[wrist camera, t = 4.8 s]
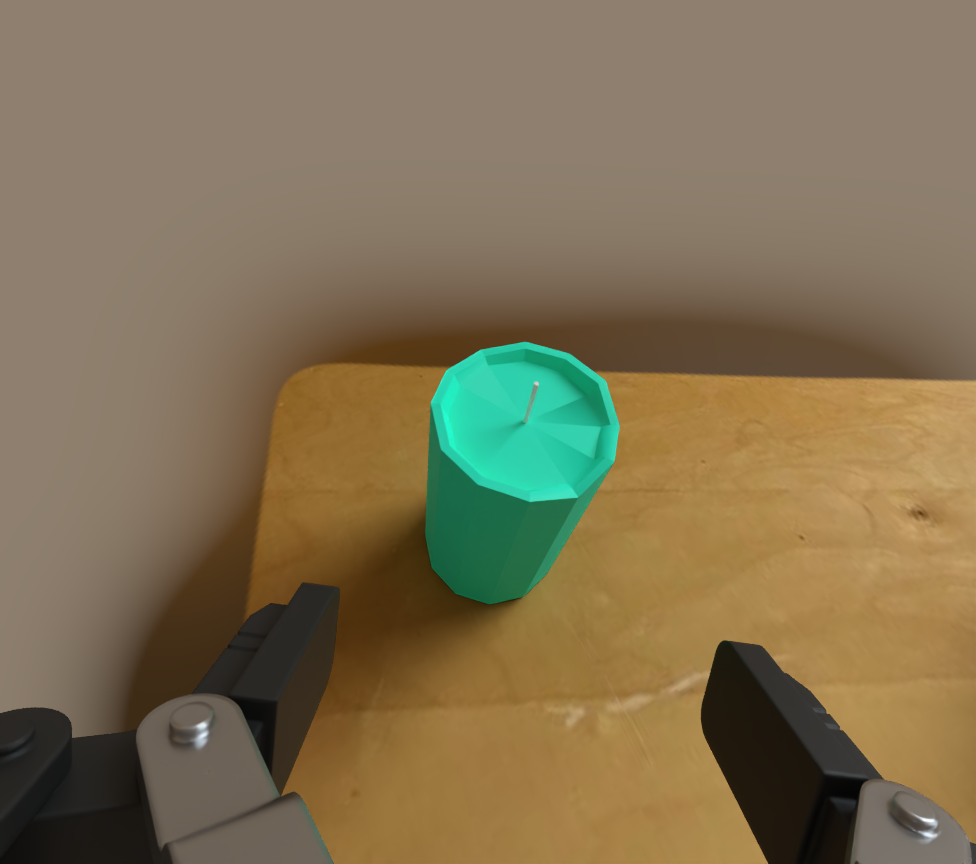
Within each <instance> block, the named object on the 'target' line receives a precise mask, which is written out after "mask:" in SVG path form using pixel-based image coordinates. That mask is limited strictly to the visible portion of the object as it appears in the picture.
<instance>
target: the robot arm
mask: <svg viewBox="0 0 976 864" xmlns="http://www.w3.org/2000/svg"><path fill="white" fill-rule="evenodd" d="M339 600H340V589H339V587H335V586H327V585H320V584H313V583H305V582H303V583H302V584H301V585H300V587H299V588H298V590H297V591H296V593H295V594H294V596H293V597H292V599H291V600H290V602H289V603H288V605H281V604H274V603H270V604H269V605H267V606H265V607H264V608H262V609H260V610H259V611H257V612H255V613H254V614H252V615H250V617H249V618H248V619H247V621H246V622H245V623H244V625H243V626H242V627H241V628H240V630H239V631H238V634H237V635H235V637H234V638H233V639H232V641H231V642H230V643H229V645H228V648H227V649H225V650H224V651H223V652H222V654H221V655H220V656H219V658H218V659H217V660H216V662H215V663H214V664H213V666H212V667H211V668H210V670H209V671H208V672H207V674H206V675H205V677H204V678H203V679H202V680H201V682H200V683H199V684H198V686H197V687H196V688H195V690H194V691H193V692H192V694H191V695H186V696H182V697H179V698H176V699H173V700H170V701H168V702H166V703H164V704H162V705H160V706H159V707H157V708H156V709H154V710H153V711H152V712H150V713H149V714H148V715H147V716H146V717H145V718H144V720H143V721H142V722H141V723H140V725H139V727H138V729H136V730H132V731H128V732H122V733H113V734H104V735H95V736H86V737H78V738H72V727H71V722H70V720H69V718H68V717H67V716H65V714H63V713H61V712H59V711H56V710H53V709H48V708H23V709H17V710H12V711H8V712H3V713H0V864H334V862H333V860H332V858H331V856H330V854H329V852H328V850H327V848H326V846H325V844H324V842H323V840H322V838H321V836H320V834H319V832H318V829H317V827H316V825H315V823H314V821H313V819H312V817H311V815H310V813H309V811H308V809H307V807H306V805H305V803H304V801H303V799H302V798H301V797H300V795H299V794H297V793H296V792H291V793H289V794H286V795H284V796H281V795H282V792H283V790H284V787H285V785H286V783H287V780H288V778H289V775H290V773H291V771H292V768H293V766H294V763H295V761H296V759H297V756H298V754H299V751H300V749H301V747H302V744H303V742H304V739H305V737H306V734H307V732H308V730H309V727H310V725H311V722H312V720H313V718H314V715H315V713H316V710H317V708H318V706H319V703H320V701H321V698H322V696H323V694H324V691H325V689H326V686H327V683H328V680H329V676H330V672H331V668H332V663H333V657H334V648H335V639H336V629H337V619H338V610H339ZM701 724H702V729H703V733H704V736H705V739H706V741H707V743H708V745H709V747H710V749H711V751H712V753H713V755H714V757H715V759H716V761H717V763H718V765H719V767H720V769H721V770H722V772H723V774H724V776H725V778H726V780H727V782H728V784H729V786H730V788H731V790H732V792H733V794H734V796H735V798H736V800H737V802H738V804H739V806H740V808H741V810H742V812H743V814H744V816H745V818H746V820H747V822H748V824H749V826H750V828H751V830H752V832H753V834H754V836H755V838H756V840H757V842H758V844H759V846H760V848H761V850H762V852H763V854H764V856H765V858H766V860H767V862H768V864H976V844H974V843H971V842H969V839H968V837H967V835H966V833H965V832H964V830H963V829H962V827H961V826H960V825H959V824H958V823H957V821H956V820H955V819H954V818H953V817H952V816H951V815H950V814H949V813H947V812H946V811H945V810H944V809H943V808H941V807H940V806H939V805H937V804H936V803H935V802H933V801H932V800H930V799H929V798H927V797H925V796H924V795H922V794H920V793H919V792H917V791H915V790H913V789H911V788H908V787H906V786H904V785H901V784H898V783H895V782H892V781H888V780H884V779H883V778H882V776H881V775H880V774H879V773H878V772H877V770H876V769H875V768H874V767H873V766H872V764H871V763H870V762H869V761H868V760H867V759H866V757H865V756H864V755H863V754H862V753H861V751H860V750H859V749H858V748H857V747H856V745H855V744H854V743H853V742H852V741H851V739H850V738H849V737H848V736H847V735H846V733H845V732H844V731H842V730H840V726H839V725H838V724H837V723H836V721H835V720H834V719H833V718H832V717H831V715H830V714H827V713H826V709H825V708H824V707H823V706H822V705H821V703H820V702H819V701H818V700H817V699H816V697H815V696H814V695H813V694H812V693H811V691H809V690H808V689H807V688H805V687H804V686H803V685H801V684H800V683H799V682H798V681H796V680H795V679H794V678H792V677H791V676H790V675H788V674H787V673H784V672H783V671H782V670H781V669H780V667H779V666H778V665H777V664H776V662H775V661H774V660H773V659H772V657H771V656H770V655H769V654H768V652H767V651H766V650H765V649H764V648H763V647H762V646H760V645H755V644H748V643H741V642H733V641H726V640H725V641H722V642H721V643H720V644H719V645H718V647H717V650H716V653H715V657H714V661H713V664H712V668H711V672H710V676H709V679H708V683H707V687H706V691H705V695H704V698H703V702H702V708H701Z"/></svg>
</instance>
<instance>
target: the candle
mask: <svg viewBox="0 0 976 864" xmlns="http://www.w3.org/2000/svg"><path fill="white" fill-rule="evenodd" d="M619 426H620V425H619V422H618V419H617V415H616V412H615V409H614V406H613V403H612V399H611V396H610V393H609V390H608V387H607V383H606V380H604V379H603V378H602V377H600V376H599V375H598V374H596V373H595V372H593V371H592V370H591V369H589V368H588V367H587V366H585V365H584V364H583V363H581V362H580V361H579V360H577V359H576V358H575V357H573V356H572V355H571V354H568V353H565V352H561V351H557V350H554V349H550V348H546V347H543V346H539V345H535V344H531V343H528V342H522V343H516V344H511V345H505V346H500V347H494V348H488V349H483V350H480V351H478V352H476V353H475V354H473V355H471V356H470V357H468V358H466V359H465V360H463V361H461V362H459V363H458V364H456V365H455V366H453V367H451V368H449V369H448V370H446V372H445V374H444V376H443V378H442V380H441V383H440V385H439V387H438V389H437V391H436V393H435V395H434V397H433V399H432V402H431V409H430V433H429V456H428V480H427V504H426V527H425V537H426V542H427V547H428V552H429V557H430V562H431V567H432V569H433V570H434V571H435V572H436V573H437V574H438V575H439V576H440V578H441V579H442V580H443V581H444V582H445V583H446V584H447V585H448V586H449V587H450V588H451V590H452V591H453V592H454V593H455V594H458V595H461V596H464V597H467V598H470V599H474V600H477V601H480V602H483V603H486V604H489V605H490V604H494V603H499V602H503V601H507V600H512V599H516V598H521V597H524V596H525V595H526V594H527V593H528V592H529V591H530V590H531V589H532V588H533V587H534V586H535V585H536V584H537V583H538V582H539V581H540V580H541V579H542V578H543V577H544V576H545V575H546V574H547V573H548V571H549V570H550V568H551V566H552V565H553V563H554V561H555V560H556V558H557V556H558V555H559V553H560V551H561V550H562V548H563V546H564V545H565V543H566V541H567V540H568V538H569V536H570V535H571V533H572V531H573V530H574V528H575V526H576V525H577V523H578V521H579V520H580V518H581V517H582V515H583V513H584V512H585V510H586V508H587V507H588V505H589V503H590V502H591V500H592V498H593V497H594V495H595V493H596V492H597V490H598V488H599V487H600V485H601V483H602V482H603V480H604V478H605V477H606V475H607V473H608V472H609V470H610V468H611V467H612V465H613V463H614V461H615V454H616V447H617V440H618V433H619Z"/></svg>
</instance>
